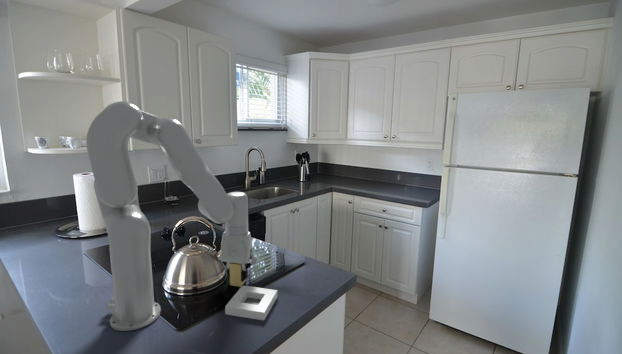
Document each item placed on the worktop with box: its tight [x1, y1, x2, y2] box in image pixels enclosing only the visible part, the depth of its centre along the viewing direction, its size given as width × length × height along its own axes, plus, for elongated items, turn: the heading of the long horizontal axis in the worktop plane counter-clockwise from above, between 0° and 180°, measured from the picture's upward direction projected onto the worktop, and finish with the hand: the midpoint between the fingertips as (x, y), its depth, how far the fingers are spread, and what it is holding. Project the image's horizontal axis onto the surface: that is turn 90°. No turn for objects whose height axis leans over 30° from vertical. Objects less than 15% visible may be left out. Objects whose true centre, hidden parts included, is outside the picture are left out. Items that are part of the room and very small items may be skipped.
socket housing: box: [224, 284, 278, 321], centre depth 94 cm, size 12×12×2 cm
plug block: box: [229, 263, 247, 288], centre depth 106 cm, size 4×4×8 cm
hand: (237, 278), depth 106 cm, fingers closed on plug block, 4 cm apart
